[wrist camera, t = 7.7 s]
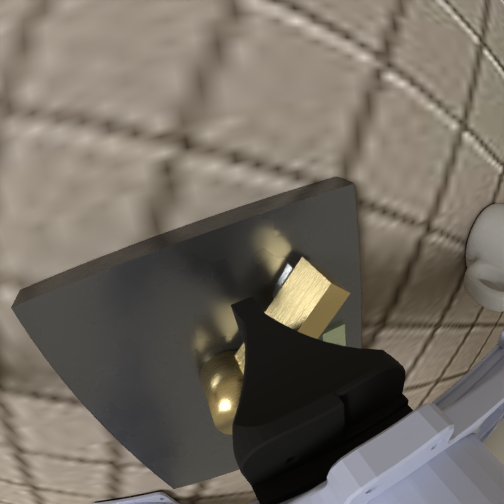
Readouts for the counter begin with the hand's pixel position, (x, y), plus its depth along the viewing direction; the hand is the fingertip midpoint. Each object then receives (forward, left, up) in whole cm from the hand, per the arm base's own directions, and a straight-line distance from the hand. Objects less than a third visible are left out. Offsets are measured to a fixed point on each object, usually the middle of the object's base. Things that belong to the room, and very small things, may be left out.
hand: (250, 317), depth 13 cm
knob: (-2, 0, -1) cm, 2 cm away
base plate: (-6, +2, -3) cm, 7 cm away
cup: (-5, -19, -3) cm, 20 cm away
